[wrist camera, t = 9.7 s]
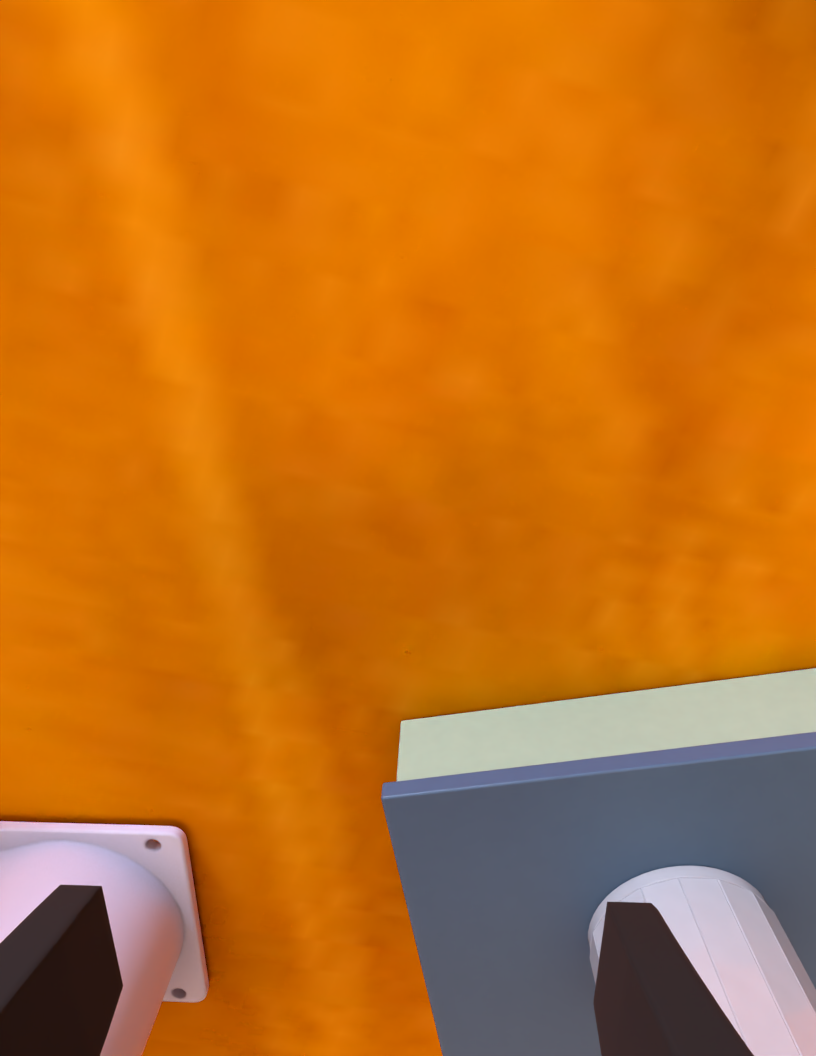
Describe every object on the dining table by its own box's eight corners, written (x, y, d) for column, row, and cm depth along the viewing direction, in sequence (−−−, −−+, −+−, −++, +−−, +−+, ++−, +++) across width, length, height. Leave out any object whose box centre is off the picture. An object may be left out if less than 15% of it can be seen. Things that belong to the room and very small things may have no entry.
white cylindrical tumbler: (579, 993, 19) (638, 1284, 14) (595, 861, 18) (671, 1133, 12) (754, 999, 19) (887, 1297, 14) (789, 866, 17) (957, 1145, 12)
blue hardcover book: (448, 977, 24) (450, 1088, 21) (389, 713, 21) (380, 798, 17) (866, 939, 23) (940, 1052, 20) (889, 649, 19) (985, 727, 16)
